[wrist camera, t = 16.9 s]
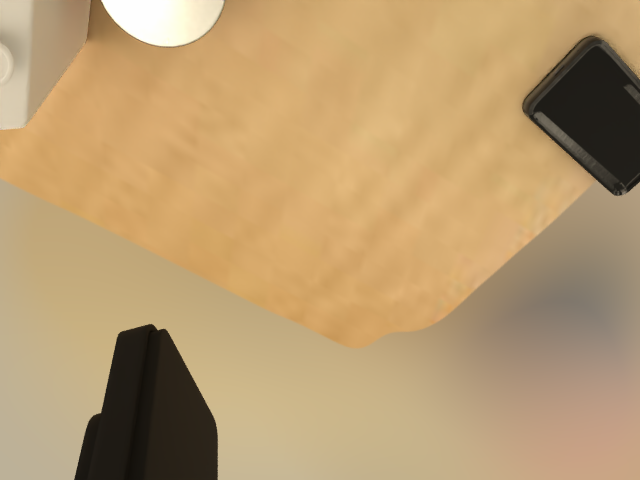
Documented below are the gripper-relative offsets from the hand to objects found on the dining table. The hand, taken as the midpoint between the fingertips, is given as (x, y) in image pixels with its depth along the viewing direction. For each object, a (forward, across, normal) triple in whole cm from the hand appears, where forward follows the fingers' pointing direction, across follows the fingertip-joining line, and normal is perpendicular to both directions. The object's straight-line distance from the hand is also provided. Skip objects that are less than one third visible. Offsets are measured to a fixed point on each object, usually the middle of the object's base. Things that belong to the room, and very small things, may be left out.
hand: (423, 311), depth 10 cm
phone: (+34, -25, +18) cm, 46 cm away
